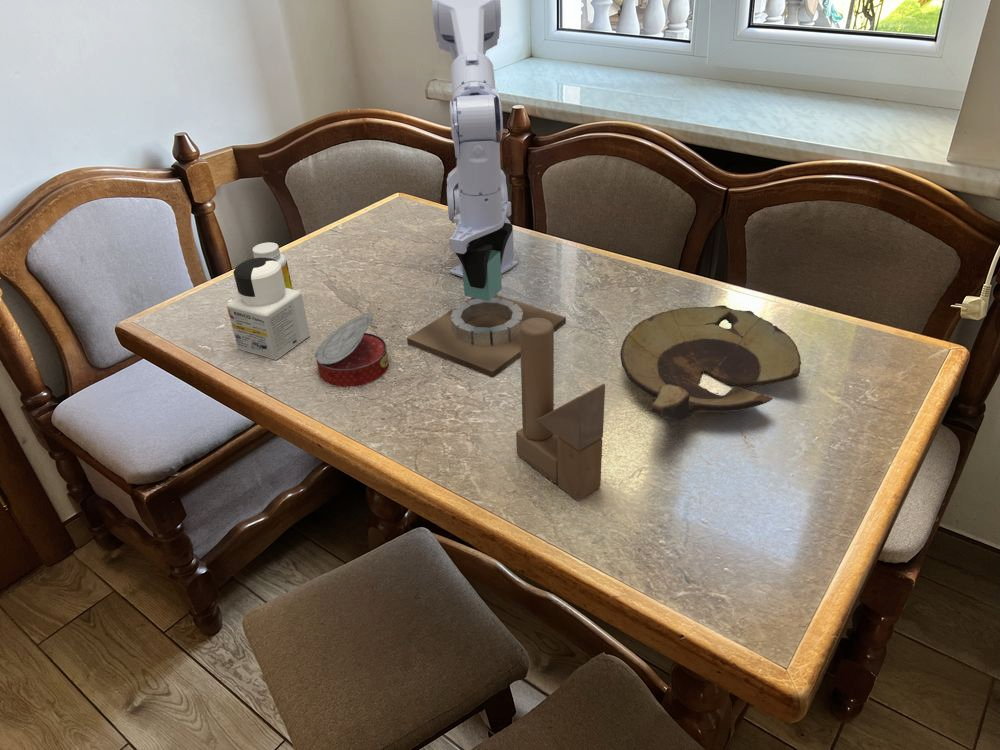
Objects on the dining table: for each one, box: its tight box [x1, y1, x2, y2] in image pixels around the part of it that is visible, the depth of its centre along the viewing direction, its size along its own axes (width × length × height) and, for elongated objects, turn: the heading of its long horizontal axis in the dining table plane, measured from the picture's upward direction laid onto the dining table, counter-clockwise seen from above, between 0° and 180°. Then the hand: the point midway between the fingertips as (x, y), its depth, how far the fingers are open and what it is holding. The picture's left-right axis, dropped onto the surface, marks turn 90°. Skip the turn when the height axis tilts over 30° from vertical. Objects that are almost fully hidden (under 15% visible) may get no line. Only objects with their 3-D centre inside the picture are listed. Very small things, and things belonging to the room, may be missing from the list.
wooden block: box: [515, 318, 606, 501], centre depth 84 cm, size 4×11×18 cm, turn 39°
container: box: [226, 257, 311, 361], centre depth 112 cm, size 8×8×13 cm
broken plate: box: [620, 304, 802, 422], centre depth 100 cm, size 22×30×8 cm
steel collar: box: [450, 298, 523, 346], centre depth 114 cm, size 10×10×2 cm
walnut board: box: [406, 294, 567, 379], centre depth 115 cm, size 18×16×1 cm
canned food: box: [314, 311, 390, 388], centre depth 107 cm, size 11×10×10 cm
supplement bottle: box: [252, 242, 294, 290], centre depth 123 cm, size 6×6×10 cm
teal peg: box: [462, 250, 503, 301], centre depth 110 cm, size 4×4×6 cm
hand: (484, 279), depth 111 cm, fingers closed on teal peg, 4 cm apart
